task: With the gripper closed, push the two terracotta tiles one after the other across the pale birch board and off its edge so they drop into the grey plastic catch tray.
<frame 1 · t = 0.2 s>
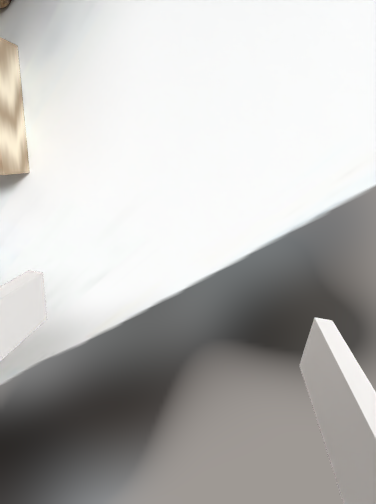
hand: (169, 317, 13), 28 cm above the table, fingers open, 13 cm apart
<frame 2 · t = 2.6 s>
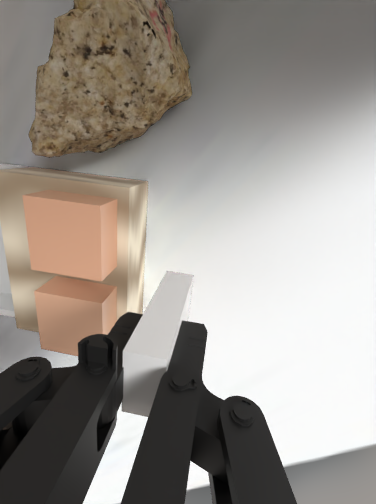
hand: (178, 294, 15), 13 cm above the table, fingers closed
rock: (120, 83, 24), on the table
board: (91, 249, 30), on the table
tile b: (87, 308, 26), point 5 cm above the table, touching board
tile a: (83, 229, 23), point 5 cm above the table, touching board
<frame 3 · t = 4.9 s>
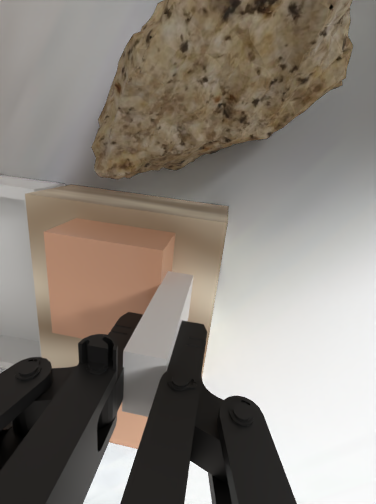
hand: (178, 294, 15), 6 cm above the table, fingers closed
rock: (202, 74, 17), on the table
board: (142, 290, 23), on the table
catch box: (1, 265, 24), on the table
tile b: (144, 376, 19), point 5 cm above the table, touching board
tile a: (123, 272, 17), point 5 cm above the table, touching gripper
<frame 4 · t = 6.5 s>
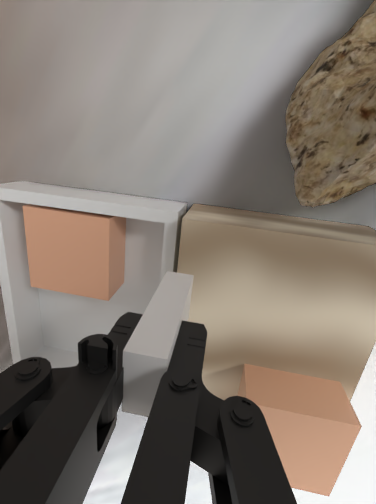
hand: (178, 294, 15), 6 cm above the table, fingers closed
rock: (358, 88, 16), on the table
board: (256, 311, 22), on the table
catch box: (103, 285, 23), on the table
tile b: (281, 406, 18), point 5 cm above the table, touching board
tile a: (67, 255, 19), point 4 cm above the table, tilted 180°, touching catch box
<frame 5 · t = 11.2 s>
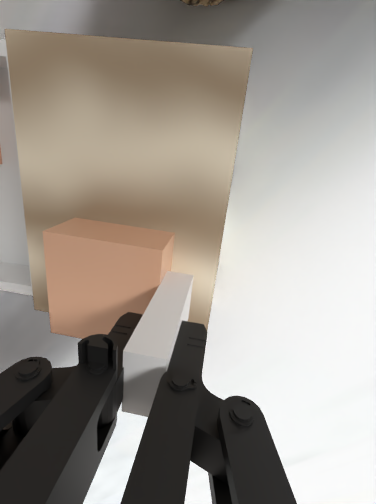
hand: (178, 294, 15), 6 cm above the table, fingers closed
board: (145, 195, 20), on the table
tile b: (122, 271, 17), point 5 cm above the table, touching board, gripper
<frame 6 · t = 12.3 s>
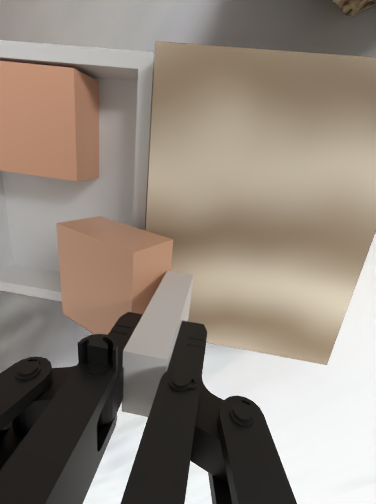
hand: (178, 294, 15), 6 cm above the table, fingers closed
board: (248, 209, 19), on the table
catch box: (76, 186, 21), on the table
tile b: (131, 272, 17), point 5 cm above the table, tilted 25°, touching board, gripper
tile a: (27, 122, 16), point 4 cm above the table, tilted 180°, touching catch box
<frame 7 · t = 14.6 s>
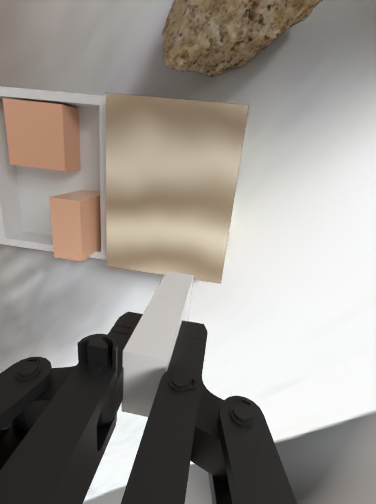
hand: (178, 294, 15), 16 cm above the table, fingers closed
rock: (226, 11, 24), on the table
board: (177, 190, 30), on the table
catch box: (66, 176, 31), on the table
tile b: (95, 225, 29), point 4 cm above the table, tilted 90°, touching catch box
tile a: (34, 135, 26), point 4 cm above the table, tilted 180°, touching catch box
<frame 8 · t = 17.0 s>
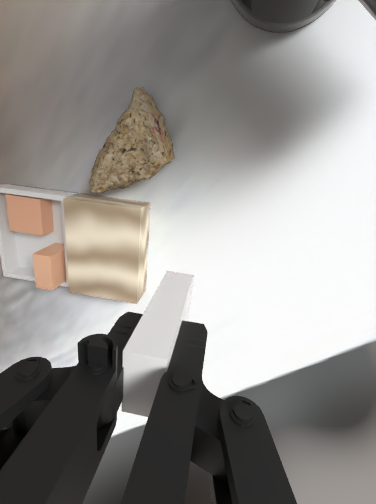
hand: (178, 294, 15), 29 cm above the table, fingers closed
rock: (134, 148, 42), on the table
board: (114, 243, 47), on the table
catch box: (45, 233, 49), on the table
tile b: (62, 266, 46), point 4 cm above the table, tilted 90°, touching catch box
tile a: (24, 215, 44), point 4 cm above the table, tilted 180°, touching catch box
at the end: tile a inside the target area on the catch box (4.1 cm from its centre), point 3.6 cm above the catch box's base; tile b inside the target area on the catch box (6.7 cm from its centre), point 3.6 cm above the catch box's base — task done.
